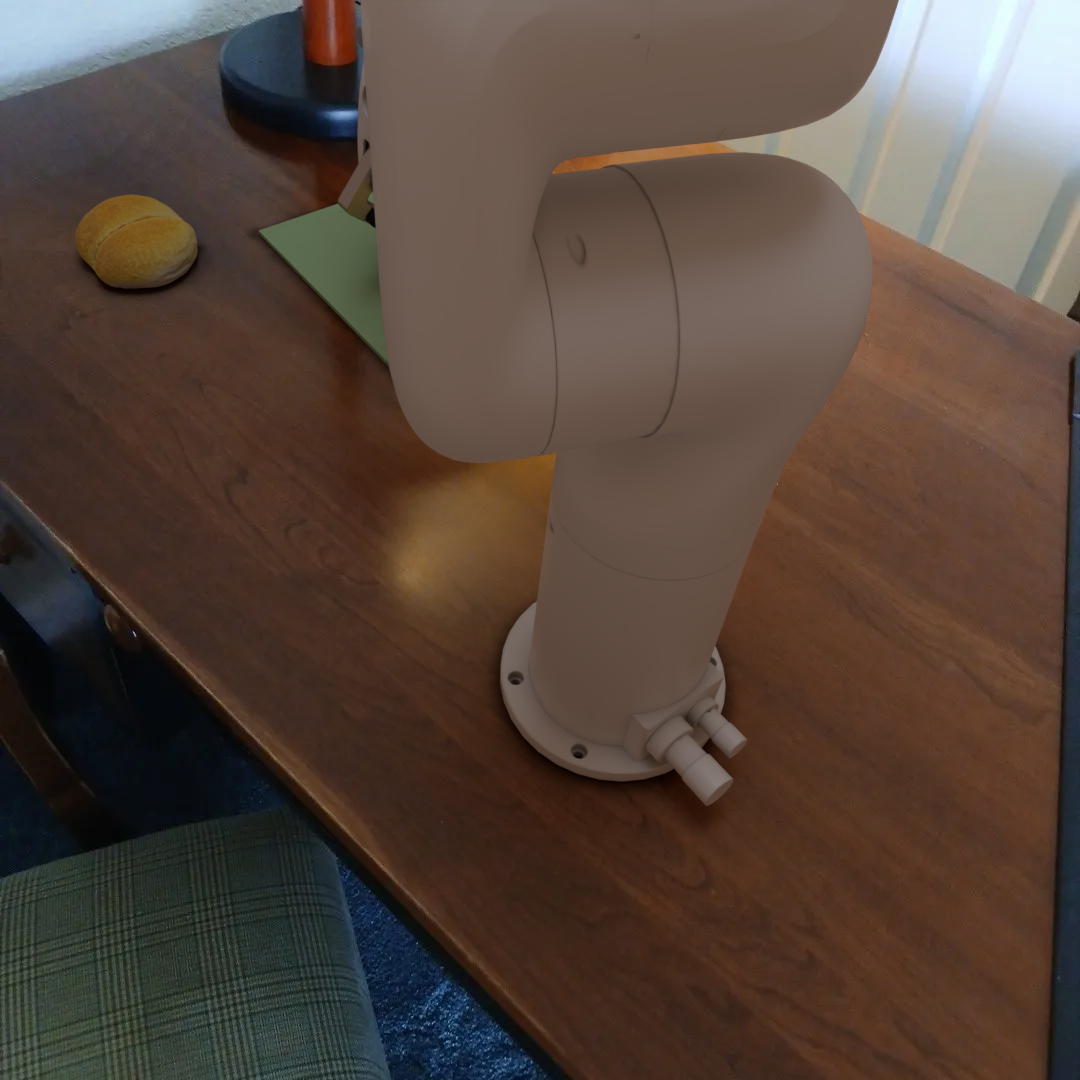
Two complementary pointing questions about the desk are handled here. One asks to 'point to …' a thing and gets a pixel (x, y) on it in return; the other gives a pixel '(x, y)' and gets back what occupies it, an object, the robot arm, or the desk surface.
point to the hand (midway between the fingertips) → (430, 259)
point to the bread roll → (136, 242)
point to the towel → (337, 266)
